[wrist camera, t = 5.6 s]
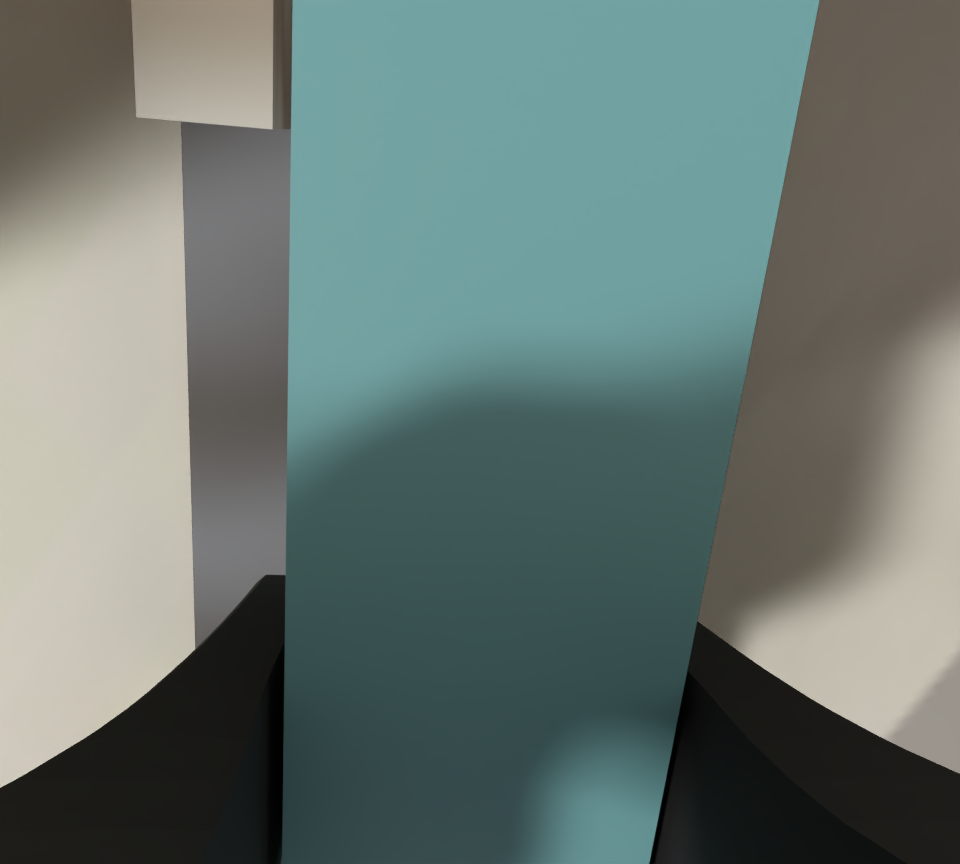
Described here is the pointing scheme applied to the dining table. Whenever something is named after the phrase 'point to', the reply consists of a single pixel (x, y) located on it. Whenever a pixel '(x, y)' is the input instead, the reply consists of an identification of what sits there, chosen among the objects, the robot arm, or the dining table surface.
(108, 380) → the dining table surface
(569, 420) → the slat
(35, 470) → the dining table surface
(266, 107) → the cradle
